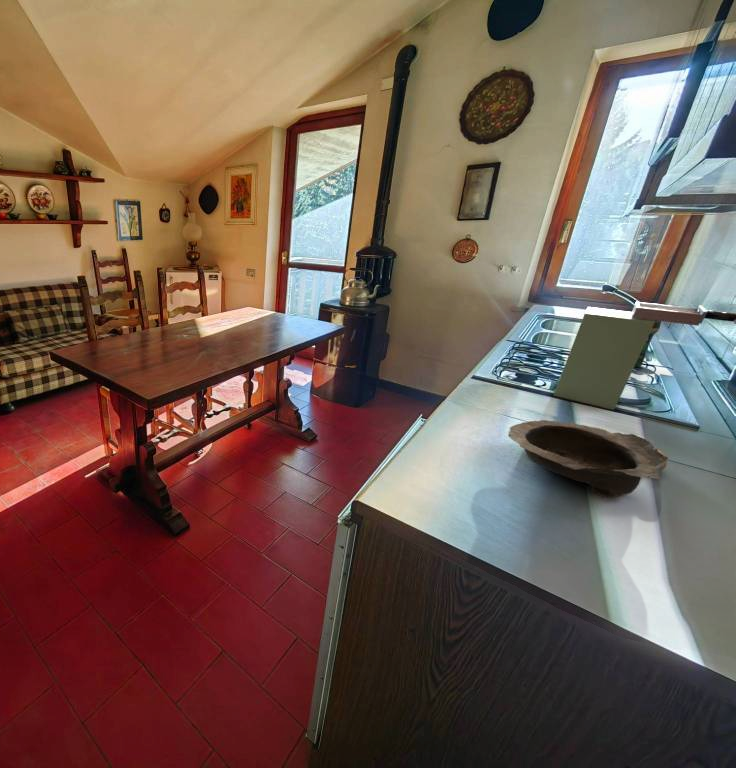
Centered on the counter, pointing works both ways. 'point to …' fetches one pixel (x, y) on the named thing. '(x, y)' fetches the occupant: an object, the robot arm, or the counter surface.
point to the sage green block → (603, 357)
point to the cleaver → (678, 313)
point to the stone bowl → (590, 454)
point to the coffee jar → (647, 343)
